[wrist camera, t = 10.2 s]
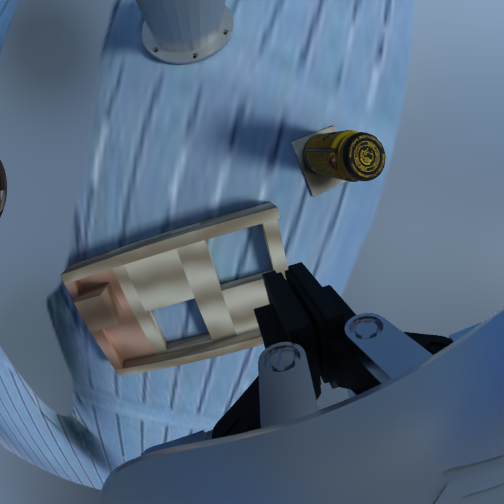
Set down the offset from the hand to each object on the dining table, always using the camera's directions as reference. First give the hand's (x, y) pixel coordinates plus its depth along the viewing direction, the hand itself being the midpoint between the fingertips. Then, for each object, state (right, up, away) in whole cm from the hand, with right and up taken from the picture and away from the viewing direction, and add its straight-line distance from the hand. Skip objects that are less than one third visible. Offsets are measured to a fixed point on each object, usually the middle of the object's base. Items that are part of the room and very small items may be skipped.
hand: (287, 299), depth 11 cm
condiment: (+9, +15, +25) cm, 31 cm away
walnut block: (-24, -5, +25) cm, 35 cm away
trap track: (-12, -5, +29) cm, 32 cm away
